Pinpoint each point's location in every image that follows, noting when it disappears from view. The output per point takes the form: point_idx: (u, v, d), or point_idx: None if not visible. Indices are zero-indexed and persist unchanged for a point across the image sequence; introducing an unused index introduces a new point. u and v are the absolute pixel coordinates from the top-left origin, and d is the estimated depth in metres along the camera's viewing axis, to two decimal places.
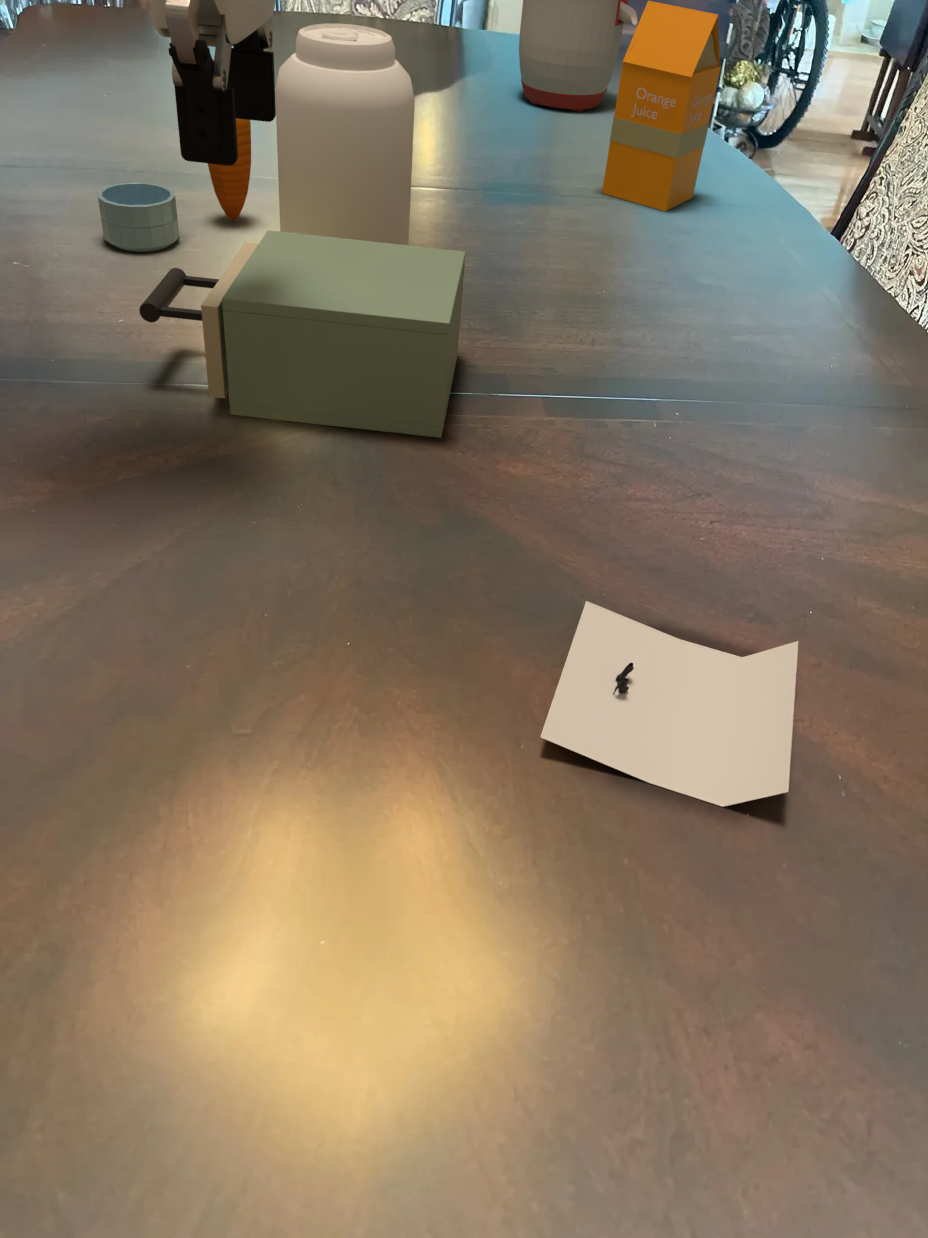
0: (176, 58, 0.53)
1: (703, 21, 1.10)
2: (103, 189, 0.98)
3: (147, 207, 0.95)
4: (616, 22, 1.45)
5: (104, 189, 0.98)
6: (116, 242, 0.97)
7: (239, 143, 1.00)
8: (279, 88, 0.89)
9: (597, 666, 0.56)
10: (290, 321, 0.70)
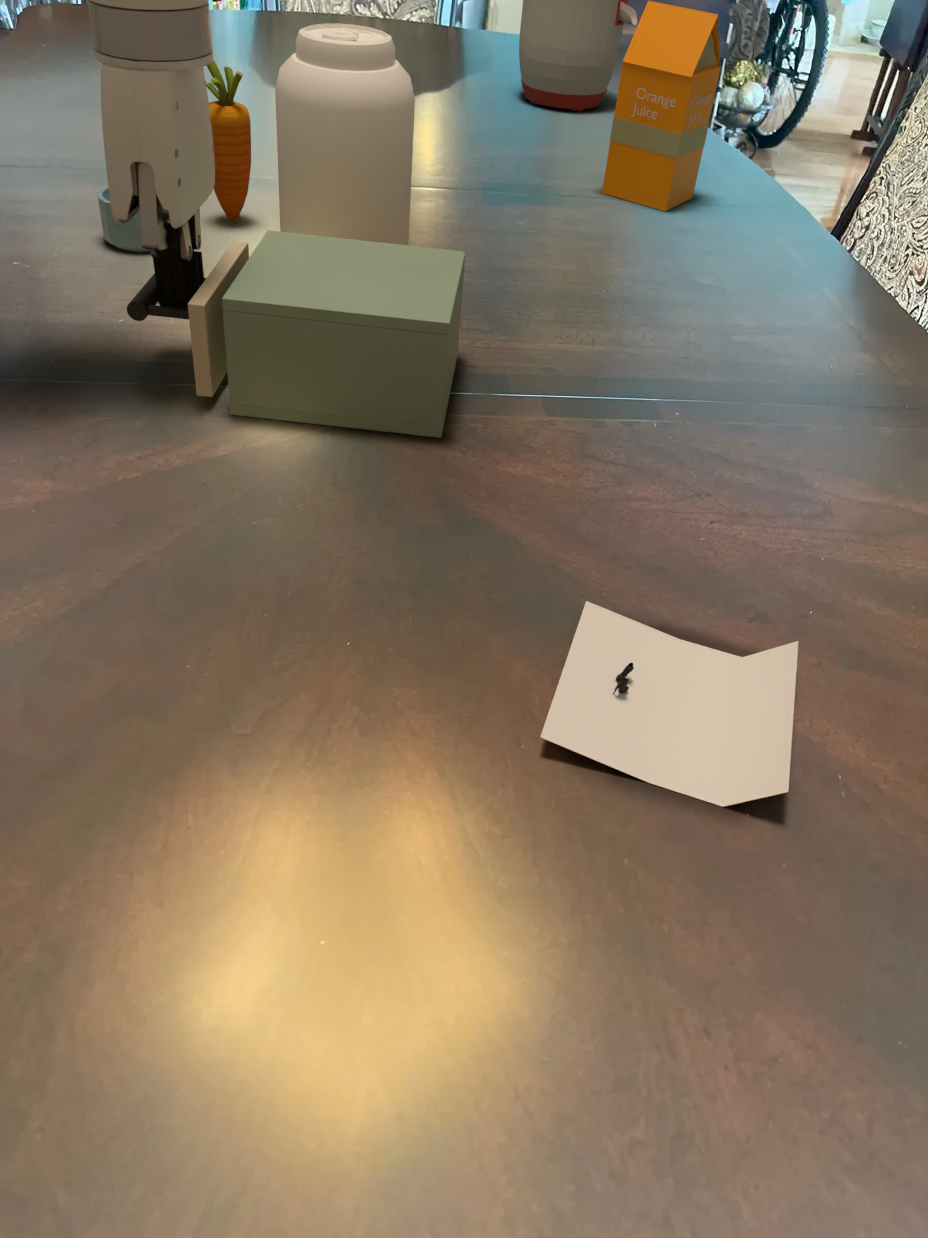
0: None
1: (703, 21, 1.10)
2: (103, 189, 0.98)
3: None
4: (616, 22, 1.45)
5: (104, 189, 0.98)
6: (116, 242, 0.97)
7: (239, 143, 1.00)
8: (279, 88, 0.89)
9: (597, 666, 0.56)
10: (290, 321, 0.70)
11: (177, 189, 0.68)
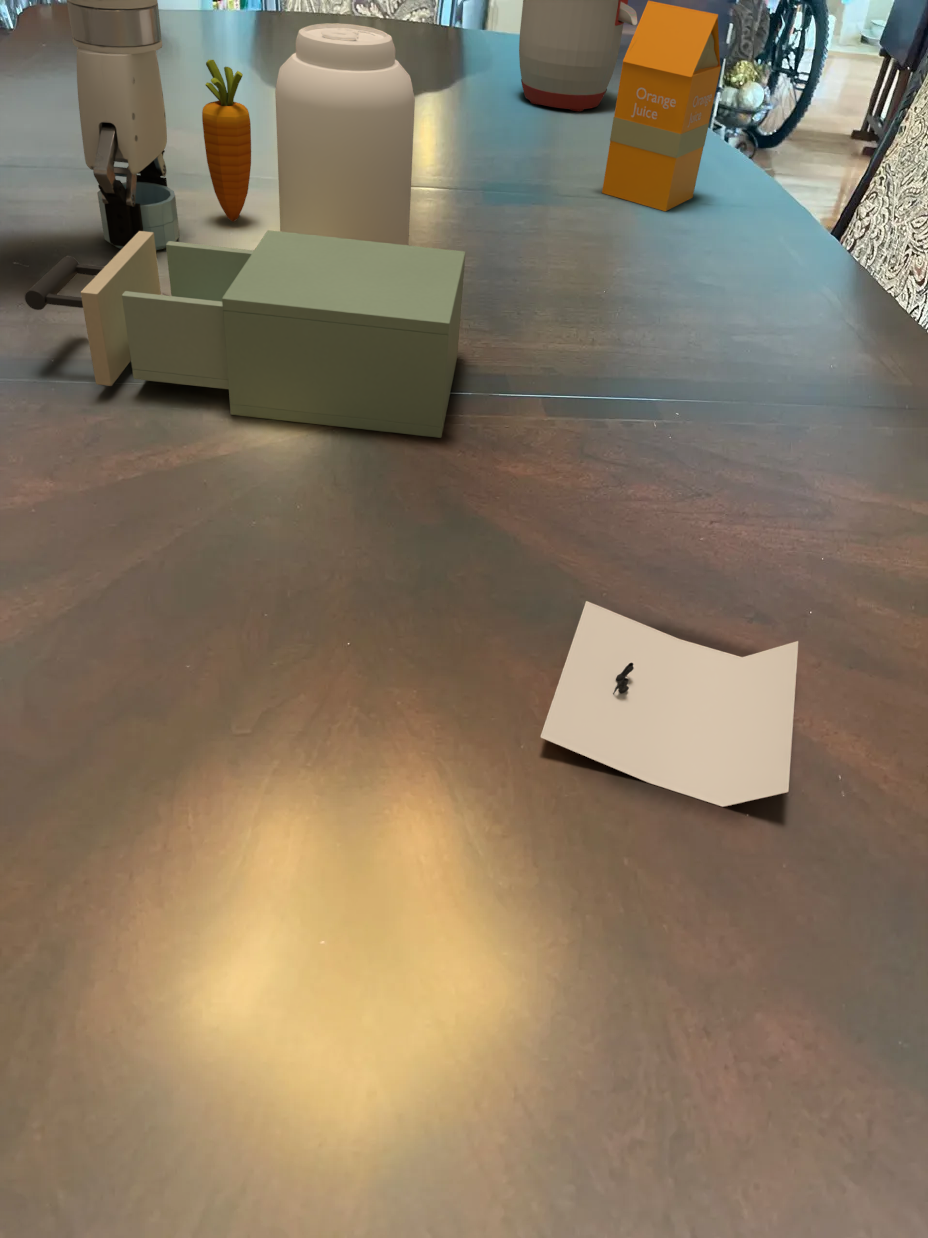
0: (102, 190, 0.91)
1: (703, 21, 1.10)
2: None
3: (147, 207, 0.95)
4: (616, 22, 1.45)
5: None
6: None
7: (239, 143, 1.00)
8: (279, 88, 0.89)
9: (597, 666, 0.56)
10: (290, 321, 0.70)
11: (134, 143, 0.90)
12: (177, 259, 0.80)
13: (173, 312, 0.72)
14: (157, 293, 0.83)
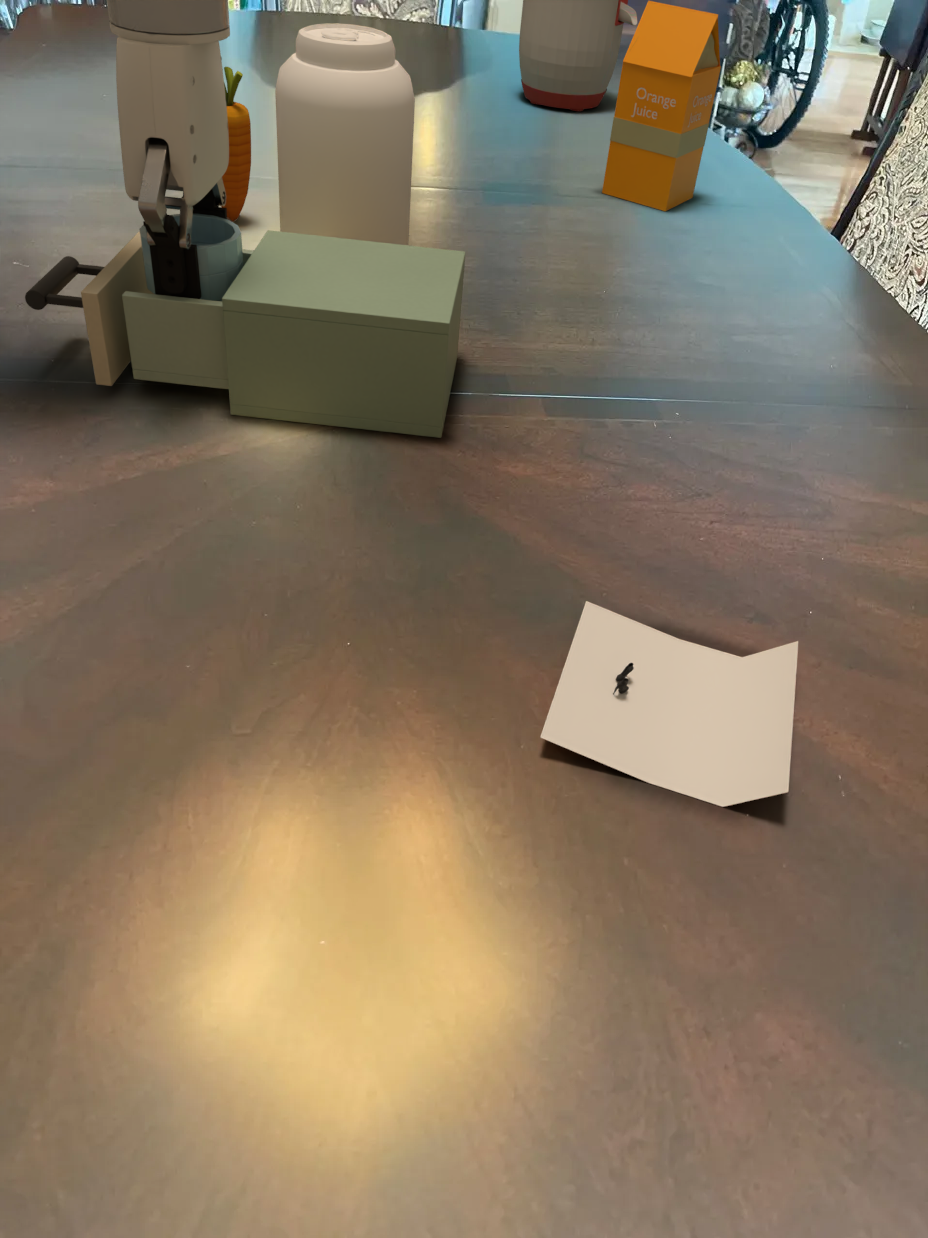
0: (149, 229, 0.67)
1: (703, 21, 1.10)
2: None
3: (207, 249, 0.72)
4: (616, 22, 1.45)
5: None
6: None
7: (239, 143, 1.00)
8: (279, 88, 0.89)
9: (597, 667, 0.56)
10: (290, 321, 0.70)
11: (192, 166, 0.67)
12: None
13: (173, 312, 0.72)
14: None
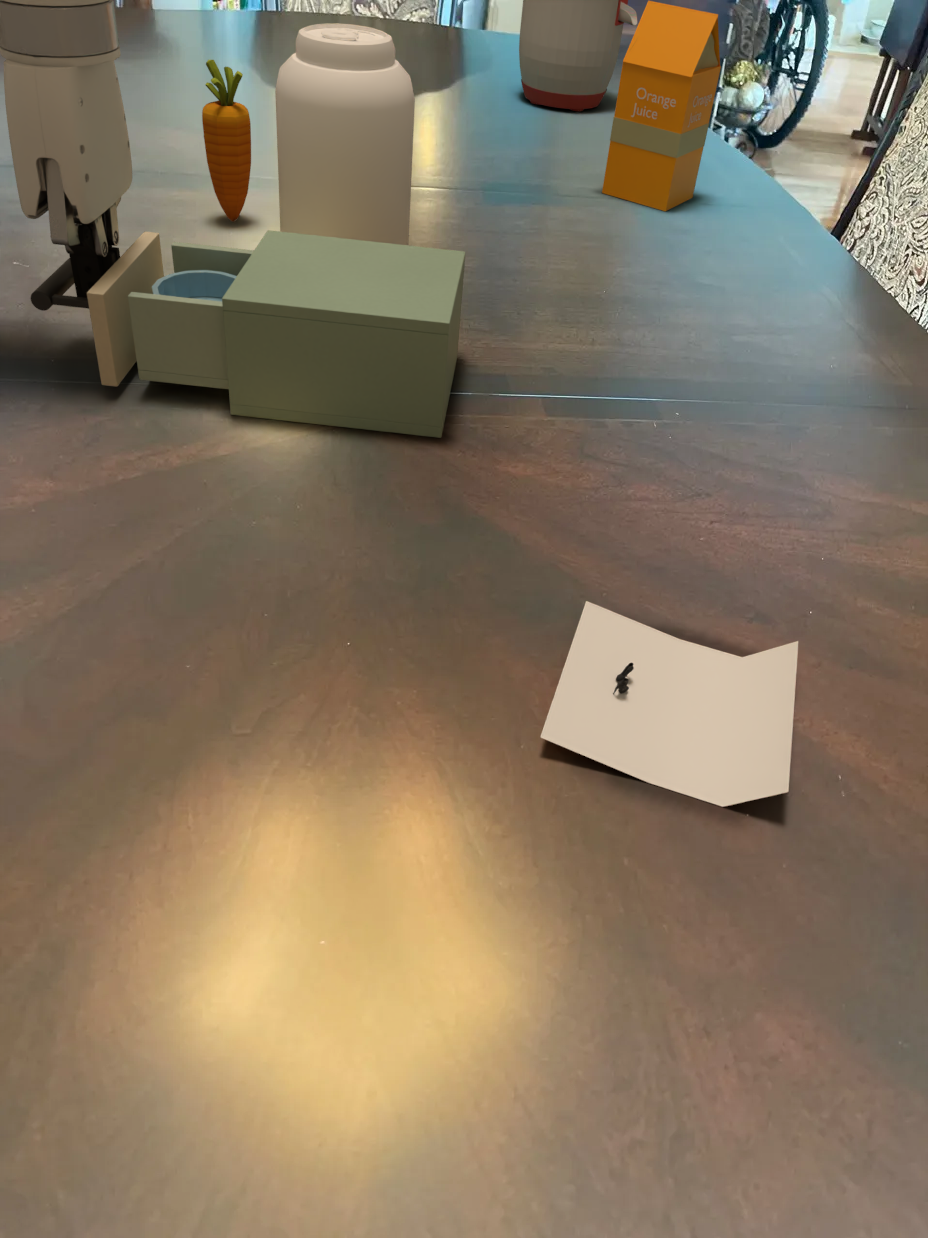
0: None
1: (703, 21, 1.10)
2: (158, 282, 0.77)
3: None
4: (616, 22, 1.45)
5: (160, 282, 0.77)
6: None
7: (239, 143, 1.00)
8: (279, 88, 0.89)
9: (597, 666, 0.56)
10: (290, 321, 0.70)
11: (85, 185, 0.68)
12: (182, 260, 0.80)
13: (179, 313, 0.72)
14: None
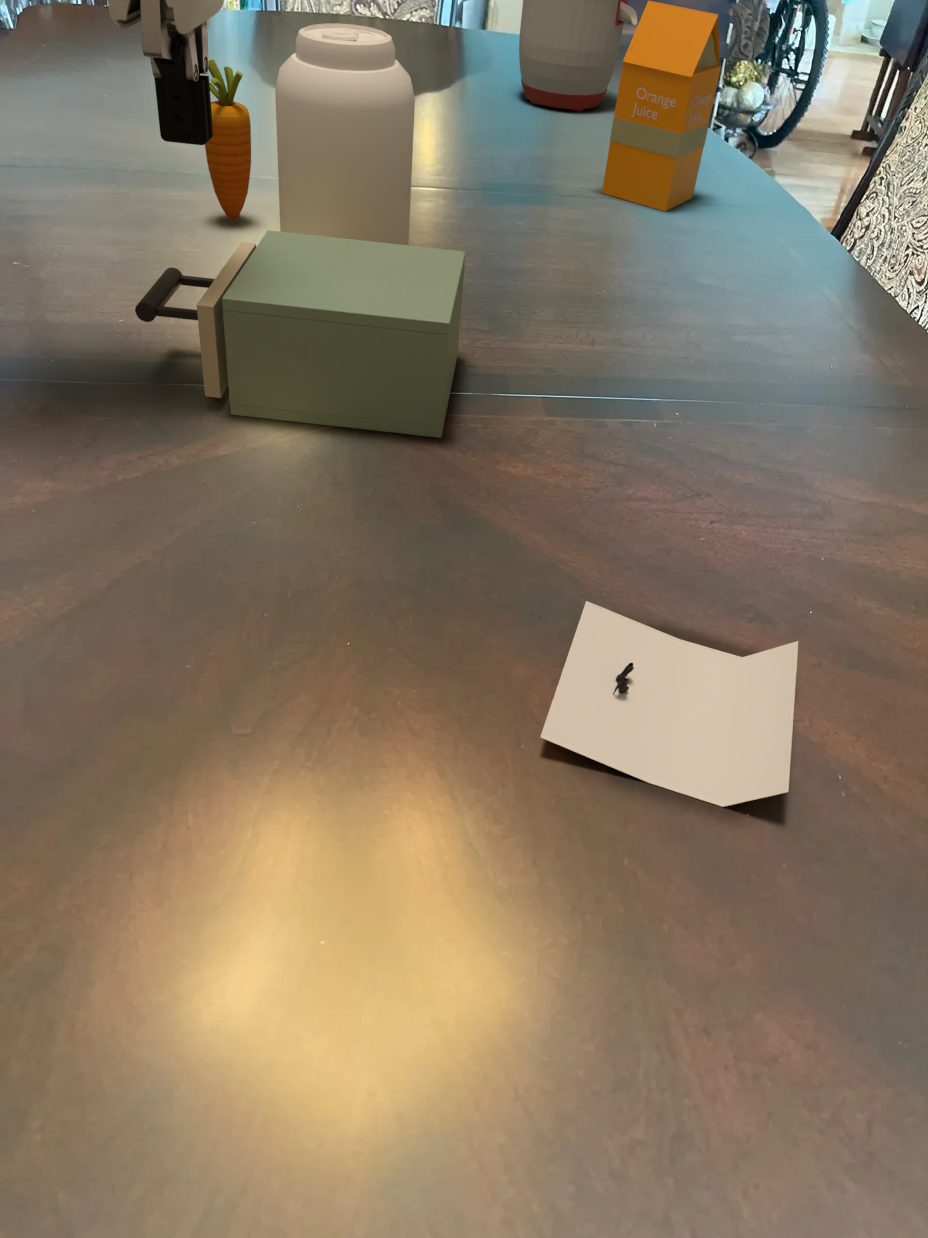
0: None
1: (703, 21, 1.10)
2: None
3: None
4: (616, 22, 1.45)
5: None
6: None
7: (239, 143, 1.00)
8: (279, 88, 0.89)
9: (597, 666, 0.56)
10: (290, 321, 0.70)
11: None
12: None
13: None
14: None
